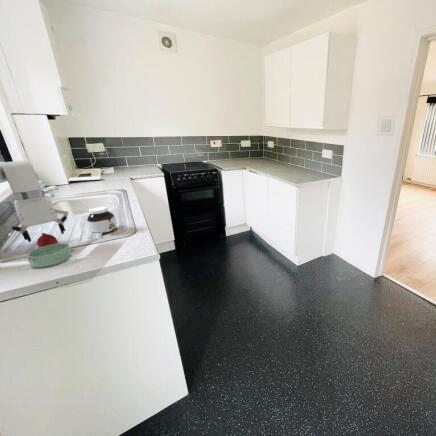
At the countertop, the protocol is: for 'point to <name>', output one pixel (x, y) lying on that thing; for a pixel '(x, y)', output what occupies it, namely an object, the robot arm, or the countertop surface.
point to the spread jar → (101, 220)
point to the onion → (46, 240)
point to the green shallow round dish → (40, 260)
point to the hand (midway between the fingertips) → (46, 236)
